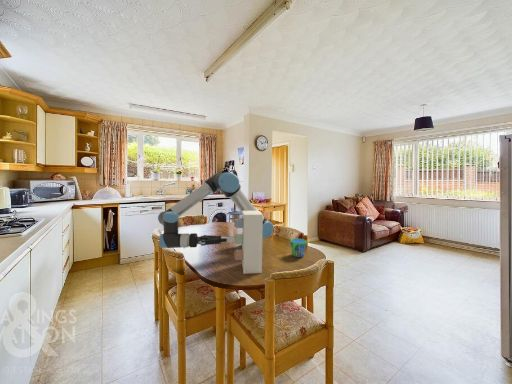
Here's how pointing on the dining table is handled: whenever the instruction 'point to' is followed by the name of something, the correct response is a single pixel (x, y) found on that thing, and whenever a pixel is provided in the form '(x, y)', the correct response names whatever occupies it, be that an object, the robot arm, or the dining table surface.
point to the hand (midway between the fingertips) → (232, 239)
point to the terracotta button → (238, 254)
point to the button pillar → (252, 241)
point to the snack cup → (298, 247)
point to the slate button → (238, 223)
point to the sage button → (238, 239)
